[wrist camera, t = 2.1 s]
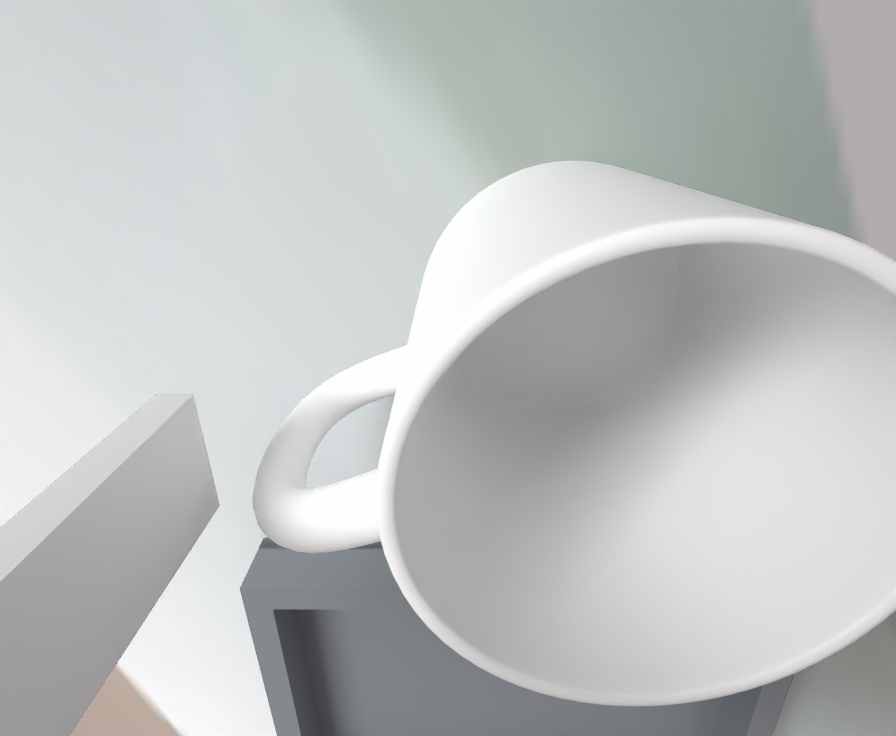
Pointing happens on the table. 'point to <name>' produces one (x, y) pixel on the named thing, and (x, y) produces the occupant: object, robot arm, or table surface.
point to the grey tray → (423, 666)
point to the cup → (623, 441)
